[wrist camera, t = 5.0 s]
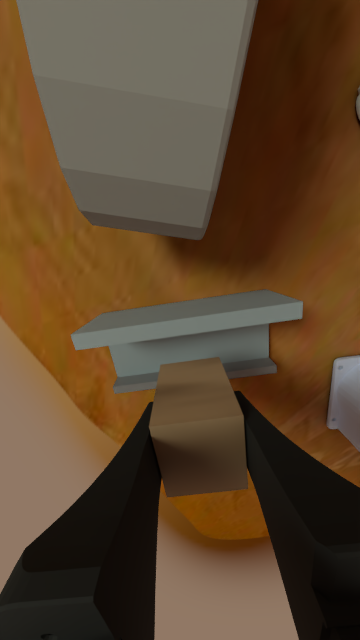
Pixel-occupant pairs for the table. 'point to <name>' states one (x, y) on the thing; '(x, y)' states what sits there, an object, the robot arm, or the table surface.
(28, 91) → the table surface
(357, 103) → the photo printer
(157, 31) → the alarm clock
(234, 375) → the wall shelf
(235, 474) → the cabinet block
